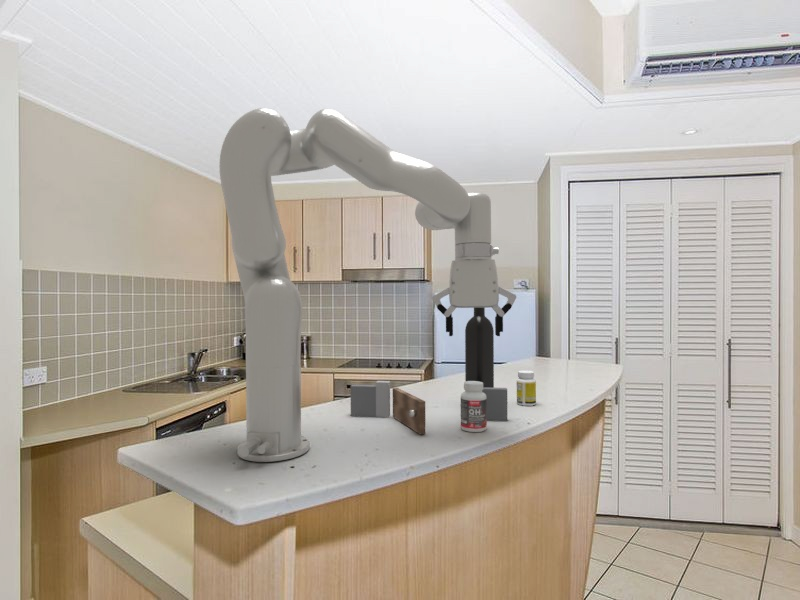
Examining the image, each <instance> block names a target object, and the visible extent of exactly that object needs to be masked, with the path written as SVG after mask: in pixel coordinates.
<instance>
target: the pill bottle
mask: <svg viewBox="0 0 800 600" xmlns="http://www.w3.org/2000/svg"><path fill="white" fill-rule="evenodd" d="M463 390H464V391H463V392H461V393H460V428H461V430H462V431H464V432H469V433H481V432H484V431H486V430H487V421H488V420H487V398H486V394H485V393H483V392H482V390H483V383H482V382H479V381H466V382H465V381H464V382H463Z"/></svg>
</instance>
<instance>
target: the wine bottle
mask: <svg viewBox="0 0 800 600" xmlns="http://www.w3.org/2000/svg"><path fill="white" fill-rule="evenodd" d="M485 311H486V308H473V316H472V317H471V318H470V319H469V320H468V321H467V322H466V324H465V325H466V326H465V329H464V330H465V331H464V334H465V335H464V336H465V337H464V345H465V346H464V347H465V349H464V352H465V356H464V357H465V358H464V359H465V363H464V364H465V366H464V367H465V368H464V369H465V370H464V371H465V377H464V380H465V381H464V382H466V381H479V382H482V383H483V387H491V388H495V386H494V385H495V382H494V381H495V379H494V378H495V372H494V371H495V366H494V365H495V364H494V363H495V361H494V359H495V358H494V353H495V352H494V348H495V347H494V344H495V341H494V340H495V339H494V334H495V333H494V331H495V330H494V326H493V323H492V322H491V320H490V319H489V318H488V317H487V316H486V312H485Z"/></svg>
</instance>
